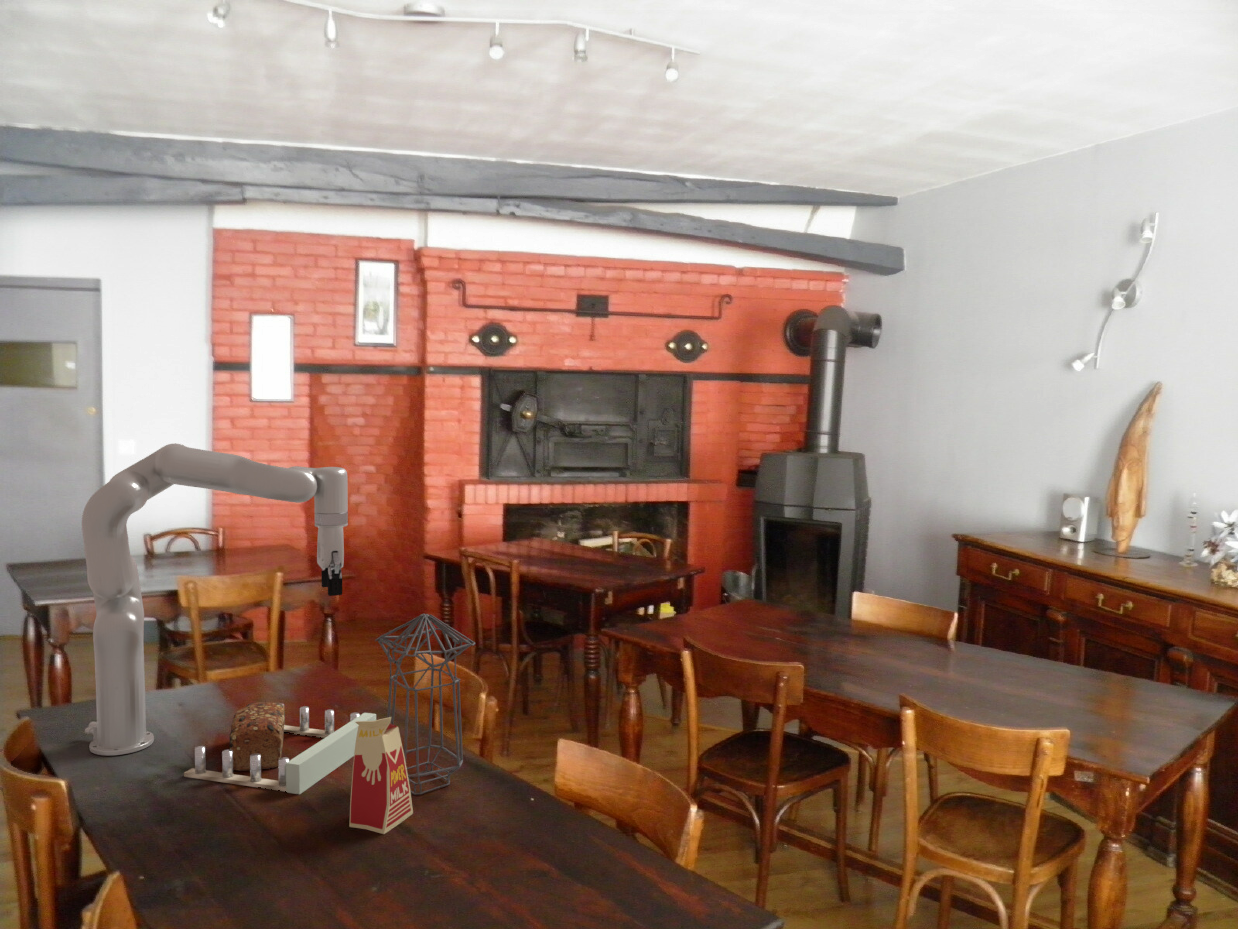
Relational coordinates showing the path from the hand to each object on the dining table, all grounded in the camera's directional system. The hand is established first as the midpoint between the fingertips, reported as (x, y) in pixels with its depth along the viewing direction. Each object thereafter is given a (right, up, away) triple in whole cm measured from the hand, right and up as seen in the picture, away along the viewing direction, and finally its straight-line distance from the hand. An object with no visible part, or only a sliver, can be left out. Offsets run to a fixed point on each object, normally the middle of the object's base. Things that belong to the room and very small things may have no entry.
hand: (331, 590), depth 226 cm
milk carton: (+23, -36, -49) cm, 65 cm away
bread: (-10, -33, -19) cm, 40 cm away
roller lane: (-4, -33, -21) cm, 39 cm away
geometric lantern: (+29, -35, -33) cm, 56 cm away
